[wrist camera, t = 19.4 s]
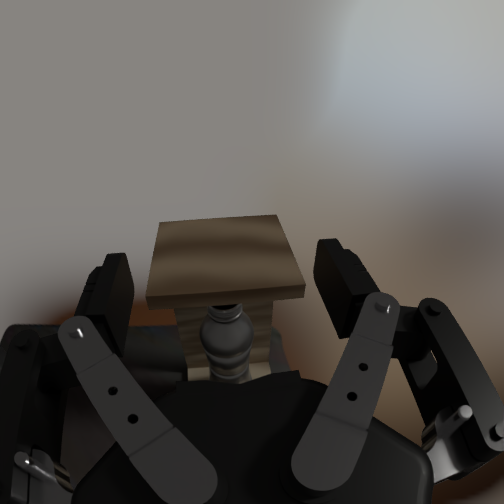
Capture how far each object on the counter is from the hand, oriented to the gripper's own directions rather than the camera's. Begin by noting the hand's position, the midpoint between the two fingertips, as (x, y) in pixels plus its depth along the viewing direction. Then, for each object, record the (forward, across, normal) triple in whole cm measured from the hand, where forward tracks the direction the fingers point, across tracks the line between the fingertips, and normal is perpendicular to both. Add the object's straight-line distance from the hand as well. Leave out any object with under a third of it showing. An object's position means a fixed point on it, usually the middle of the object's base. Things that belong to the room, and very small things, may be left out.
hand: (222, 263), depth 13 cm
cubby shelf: (+14, 0, +36) cm, 39 cm away
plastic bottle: (+14, 0, +35) cm, 38 cm away
